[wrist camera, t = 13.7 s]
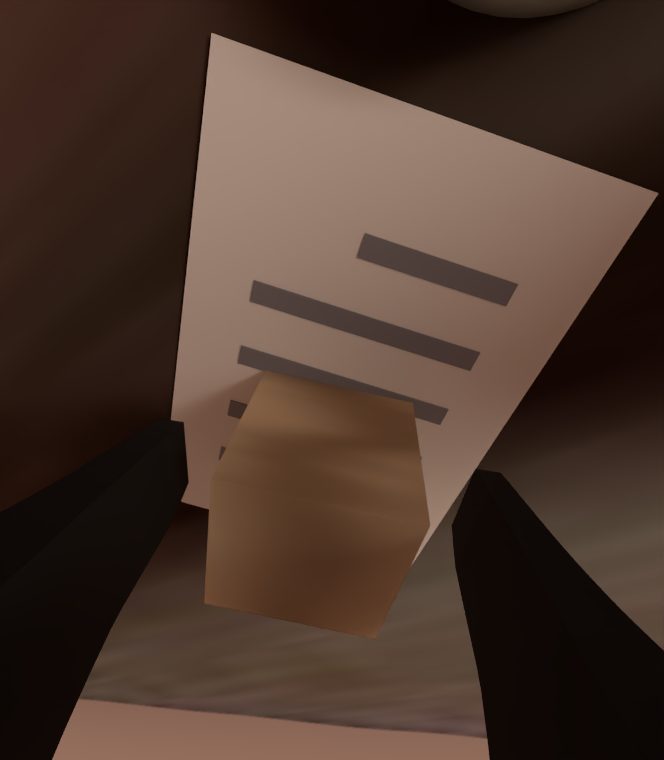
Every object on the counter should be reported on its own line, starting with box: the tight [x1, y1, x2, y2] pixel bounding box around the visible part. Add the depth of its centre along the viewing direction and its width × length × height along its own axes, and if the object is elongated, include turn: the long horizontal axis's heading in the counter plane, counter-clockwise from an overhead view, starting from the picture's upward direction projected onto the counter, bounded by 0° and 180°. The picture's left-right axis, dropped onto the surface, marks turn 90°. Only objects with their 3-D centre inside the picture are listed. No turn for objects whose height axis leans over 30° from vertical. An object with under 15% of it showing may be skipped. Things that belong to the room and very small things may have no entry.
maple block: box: [204, 370, 430, 639], centre depth 11 cm, size 4×4×4 cm
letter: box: [171, 33, 659, 565], centre depth 12 cm, size 10×14×1 cm
